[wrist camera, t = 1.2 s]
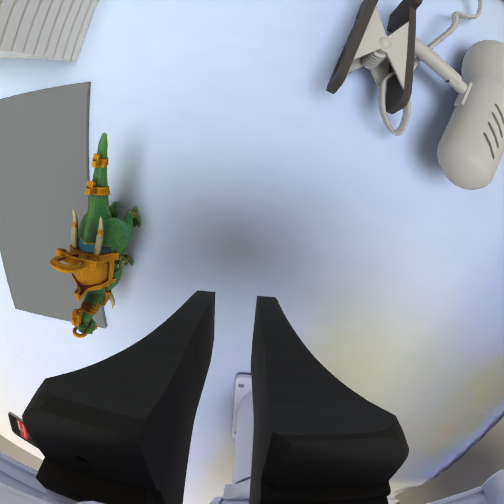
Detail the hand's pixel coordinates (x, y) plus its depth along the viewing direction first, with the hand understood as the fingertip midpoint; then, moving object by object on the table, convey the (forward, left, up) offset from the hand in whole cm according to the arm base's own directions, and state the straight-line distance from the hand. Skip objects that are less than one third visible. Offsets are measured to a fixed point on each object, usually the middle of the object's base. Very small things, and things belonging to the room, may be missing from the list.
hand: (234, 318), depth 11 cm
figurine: (0, +8, -10) cm, 12 cm away
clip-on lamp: (+14, -12, -10) cm, 21 cm away
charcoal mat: (0, +15, -9) cm, 18 cm away
